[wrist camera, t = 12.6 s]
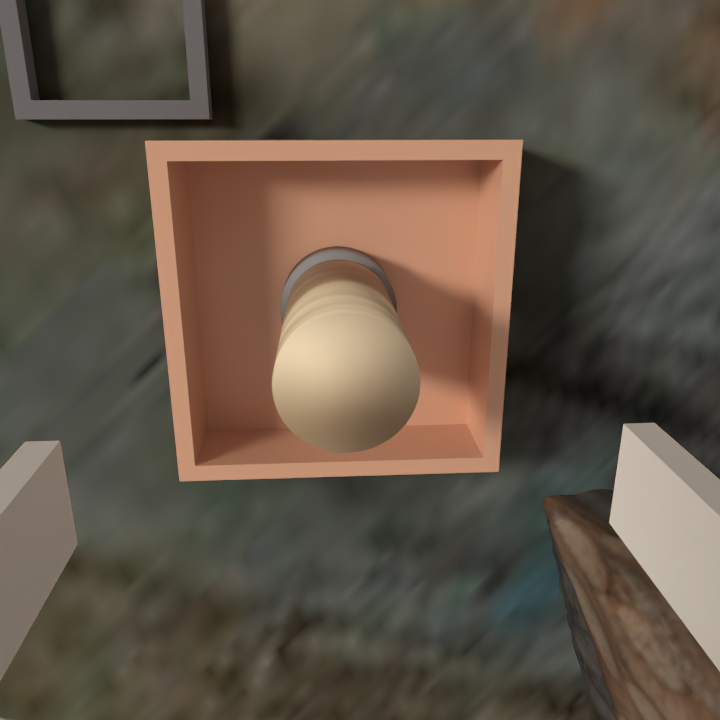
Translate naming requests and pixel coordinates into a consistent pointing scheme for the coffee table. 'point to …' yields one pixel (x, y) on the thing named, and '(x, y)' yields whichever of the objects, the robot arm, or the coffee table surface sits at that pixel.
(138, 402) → the coffee table surface
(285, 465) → the tray
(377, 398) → the beige rounded cylinder
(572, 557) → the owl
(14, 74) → the gray square frame
